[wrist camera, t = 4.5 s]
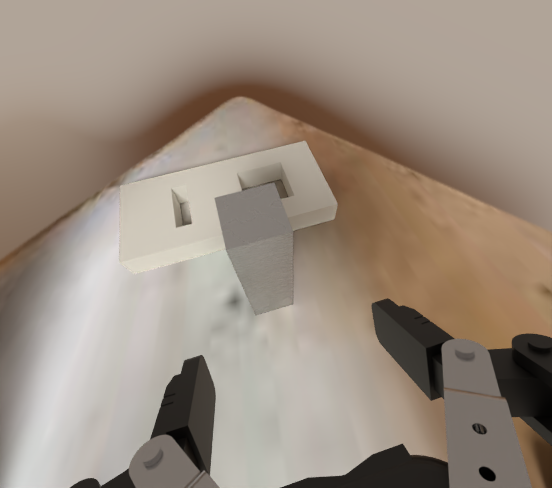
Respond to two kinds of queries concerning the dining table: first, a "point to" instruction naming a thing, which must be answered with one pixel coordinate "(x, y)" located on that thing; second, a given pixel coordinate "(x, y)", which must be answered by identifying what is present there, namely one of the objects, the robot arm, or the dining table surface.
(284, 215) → the gray square peg
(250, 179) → the socket plank
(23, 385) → the dining table surface
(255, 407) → the dining table surface
